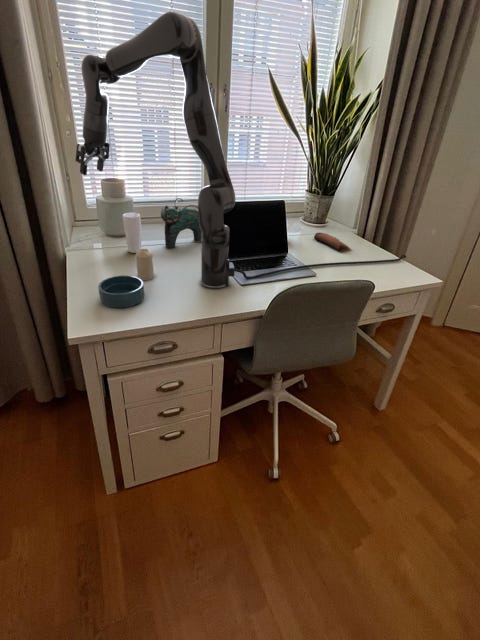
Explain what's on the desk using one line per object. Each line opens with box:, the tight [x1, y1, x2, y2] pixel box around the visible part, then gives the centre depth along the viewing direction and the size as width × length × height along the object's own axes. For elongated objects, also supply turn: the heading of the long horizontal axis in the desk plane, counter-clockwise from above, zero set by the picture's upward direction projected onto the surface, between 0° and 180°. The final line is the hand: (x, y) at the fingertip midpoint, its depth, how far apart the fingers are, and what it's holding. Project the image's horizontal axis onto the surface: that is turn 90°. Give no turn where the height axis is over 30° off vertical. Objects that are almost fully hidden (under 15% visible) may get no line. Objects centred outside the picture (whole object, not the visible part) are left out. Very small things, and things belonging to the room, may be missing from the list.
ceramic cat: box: [160, 197, 201, 249], centre depth 149 cm, size 20×6×20 cm, turn 129°
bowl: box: [97, 274, 145, 309], centre depth 108 cm, size 13×13×5 cm
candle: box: [135, 248, 155, 281], centre depth 121 cm, size 6×6×10 cm
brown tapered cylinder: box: [313, 232, 351, 253], centre depth 164 cm, size 18×7×7 cm
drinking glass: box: [122, 212, 143, 254], centre depth 140 cm, size 7×7×15 cm
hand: (91, 172), depth 128 cm, fingers open, 8 cm apart
